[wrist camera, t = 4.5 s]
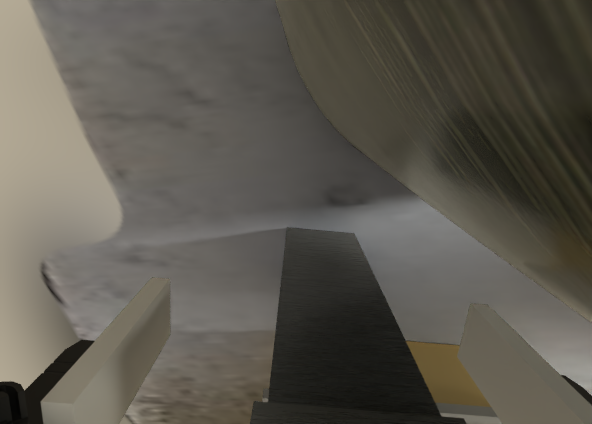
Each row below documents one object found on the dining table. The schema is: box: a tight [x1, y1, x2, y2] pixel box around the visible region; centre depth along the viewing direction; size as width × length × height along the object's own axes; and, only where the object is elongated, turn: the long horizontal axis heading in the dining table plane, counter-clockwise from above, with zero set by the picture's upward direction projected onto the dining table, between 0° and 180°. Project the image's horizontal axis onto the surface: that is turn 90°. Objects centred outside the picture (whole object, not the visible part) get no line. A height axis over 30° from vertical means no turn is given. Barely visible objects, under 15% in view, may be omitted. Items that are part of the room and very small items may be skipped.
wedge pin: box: [250, 227, 467, 424], centre depth 14 cm, size 5×5×14 cm
